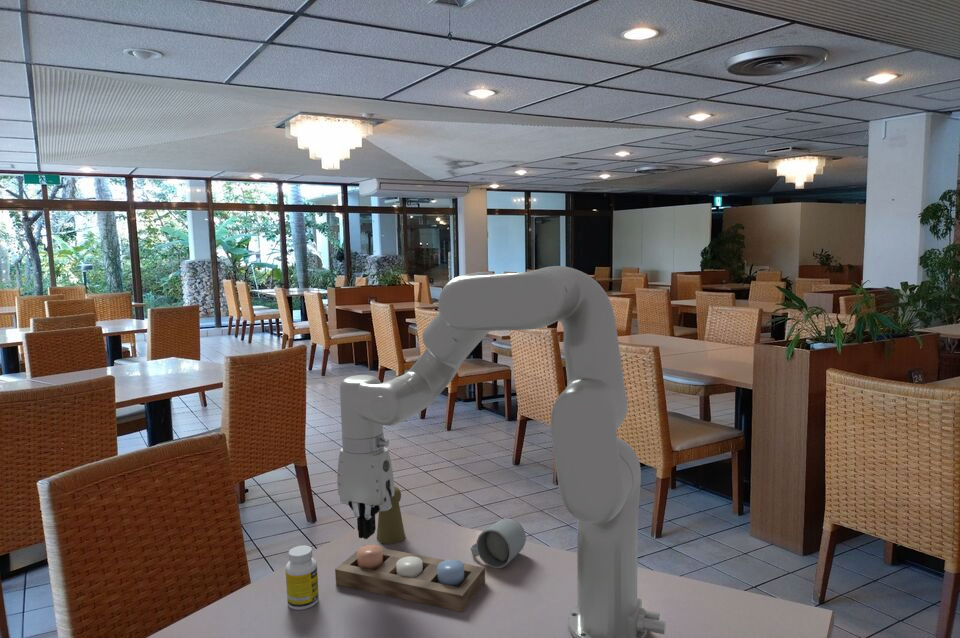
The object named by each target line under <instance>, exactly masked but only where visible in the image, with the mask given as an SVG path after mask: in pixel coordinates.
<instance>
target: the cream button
mask: <svg viewBox="0 0 960 638" xmlns="http://www.w3.org/2000/svg"><path fill="white" fill-rule="evenodd" d="M396 569H397V575H400V576H405V577H410V578H415V579H416V578H417V577H418V576H419V575H420V574H421V573H422V572H423V566H422V560H421V559H420V558H418V557H414V556H409V557H404V558H401V559H399V560H398V561H397V563H396Z"/></svg>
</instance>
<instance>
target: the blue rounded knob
mask: <svg viewBox="0 0 960 638" xmlns="http://www.w3.org/2000/svg"><path fill="white" fill-rule="evenodd" d="M444 560H445V561H442V562H440V563H439V564H438V566H437V572H438V583H439V584H444V585H449V586H454V587H459V586H460V585H461V584H462V583H463V581H464V564H465V563H463V562H462V561H461V560H459V559H444Z"/></svg>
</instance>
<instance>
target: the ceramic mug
mask: <svg viewBox="0 0 960 638" xmlns="http://www.w3.org/2000/svg"><path fill="white" fill-rule="evenodd" d="M526 540H527V537H526V531H525V529H524V527H523V526H522V525H521V524H520V522H518V520H515V519H513V518H503V519H500V520H498V521H496V522H495V523H494V524H492V525H490V526H489V527H488V528H486V529H484V530H483V531H482V532H481V533H480V534H478V537H477V539H476V542H475V543H474V544H473V545H472V546H471V547H470V551H471V554H472V555H473V556H474V557H476V556H479V558H480V559H481V561H482V563H484V564H485V565H486V566H488V567H490V568H491V569H492V568H493V569H501V568H502V569H503V568H505V567H506V566H508V565H509V563H510V562H511V561H513V560H514V558H515V557H516V556H518V554H520V552H521V551H522V550H523V548H524V546H525V544H526V543H527V542H526Z"/></svg>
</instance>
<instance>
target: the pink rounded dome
mask: <svg viewBox="0 0 960 638" xmlns="http://www.w3.org/2000/svg"><path fill="white" fill-rule="evenodd" d="M365 545H366V546H364V545H363V546H361V547H359V548H358V549H357V551H356V552H357V562H358V567H361V568H366V569H371V570H376V569H377V568H378V567H379V566H380V565H381V564H383V549H382V546H381V545H378V544H365Z"/></svg>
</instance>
